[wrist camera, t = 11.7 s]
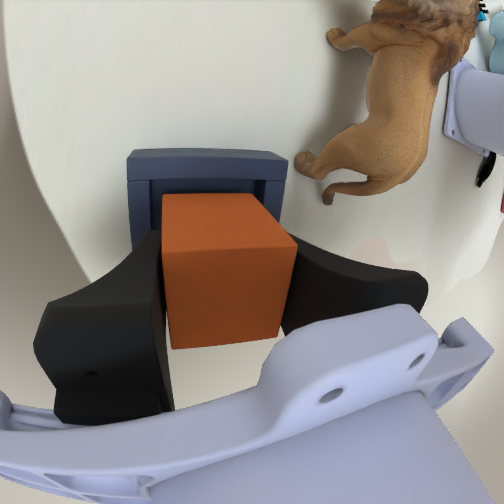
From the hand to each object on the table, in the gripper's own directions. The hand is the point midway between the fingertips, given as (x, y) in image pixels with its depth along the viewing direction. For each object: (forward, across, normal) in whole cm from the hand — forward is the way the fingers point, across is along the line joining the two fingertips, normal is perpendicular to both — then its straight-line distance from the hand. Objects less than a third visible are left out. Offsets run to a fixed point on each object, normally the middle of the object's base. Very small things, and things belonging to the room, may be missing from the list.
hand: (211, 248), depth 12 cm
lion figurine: (+4, -7, -9) cm, 12 cm away
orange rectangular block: (+1, 0, 0) cm, 1 cm away
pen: (+3, -30, -10) cm, 32 cm away
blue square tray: (+4, 0, 0) cm, 4 cm away
